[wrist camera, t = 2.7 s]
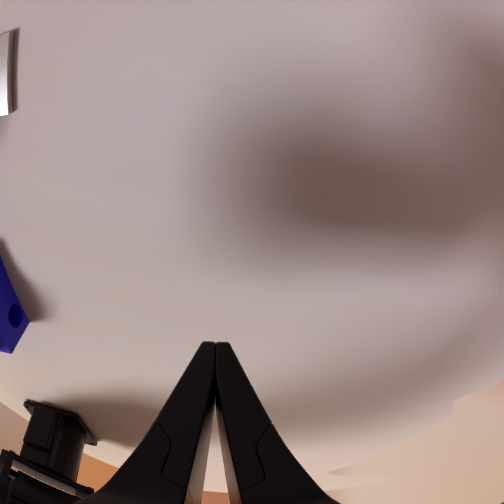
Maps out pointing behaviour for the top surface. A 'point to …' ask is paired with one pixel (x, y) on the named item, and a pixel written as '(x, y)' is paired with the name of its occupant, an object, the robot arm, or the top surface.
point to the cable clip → (10, 314)
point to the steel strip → (6, 72)
